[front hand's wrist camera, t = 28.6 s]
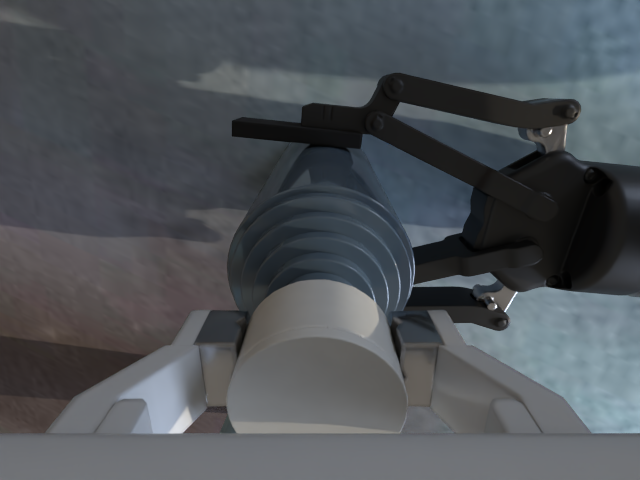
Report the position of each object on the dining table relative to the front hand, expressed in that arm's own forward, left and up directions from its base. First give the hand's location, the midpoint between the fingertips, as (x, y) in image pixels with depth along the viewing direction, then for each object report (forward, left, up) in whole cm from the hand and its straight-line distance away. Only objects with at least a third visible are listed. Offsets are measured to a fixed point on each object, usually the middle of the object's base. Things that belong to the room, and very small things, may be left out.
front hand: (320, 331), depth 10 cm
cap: (0, 0, +2) cm, 2 cm away
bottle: (0, 0, -18) cm, 19 cm away
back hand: (-5, 0, -12) cm, 13 cm away
